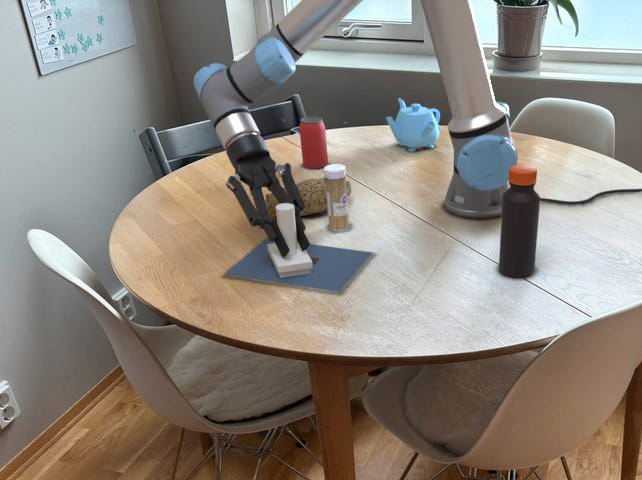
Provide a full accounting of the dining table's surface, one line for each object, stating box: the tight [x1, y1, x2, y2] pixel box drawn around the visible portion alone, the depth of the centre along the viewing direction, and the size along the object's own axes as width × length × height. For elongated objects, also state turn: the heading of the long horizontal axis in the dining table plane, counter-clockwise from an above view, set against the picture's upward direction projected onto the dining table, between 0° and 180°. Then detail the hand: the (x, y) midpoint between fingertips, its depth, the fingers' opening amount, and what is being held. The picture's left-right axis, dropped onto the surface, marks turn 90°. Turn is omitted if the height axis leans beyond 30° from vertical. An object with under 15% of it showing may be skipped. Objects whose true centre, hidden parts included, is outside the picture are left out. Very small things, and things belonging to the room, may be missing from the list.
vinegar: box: [498, 164, 541, 279], centre depth 133 cm, size 7×7×20 cm
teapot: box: [385, 97, 441, 153], centre depth 199 cm, size 15×14×11 cm
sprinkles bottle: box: [323, 163, 350, 231], centre depth 153 cm, size 5×5×13 cm
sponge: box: [264, 177, 352, 221], centre depth 163 cm, size 13×8×20 cm
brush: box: [267, 203, 313, 278], centre depth 138 cm, size 7×11×12 cm, turn 20°
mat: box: [224, 238, 373, 293], centre depth 142 cm, size 24×17×1 cm
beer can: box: [299, 115, 329, 170], centre depth 187 cm, size 7×7×12 cm
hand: (296, 250), depth 138 cm, fingers closed on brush, 4 cm apart
